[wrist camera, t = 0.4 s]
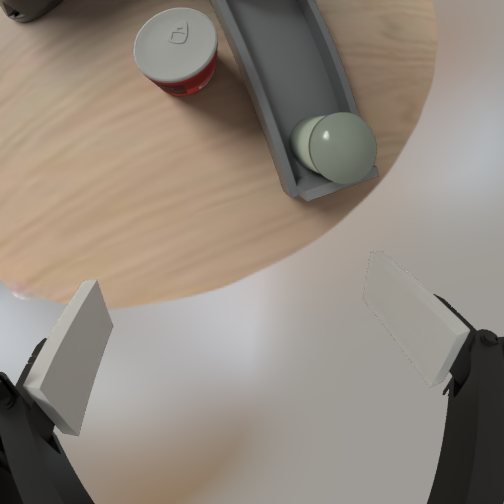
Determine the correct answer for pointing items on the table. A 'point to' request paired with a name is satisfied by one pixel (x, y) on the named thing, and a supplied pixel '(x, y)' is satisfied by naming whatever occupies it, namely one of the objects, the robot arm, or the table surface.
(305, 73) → the lane
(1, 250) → the table surface
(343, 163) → the green jar
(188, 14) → the canned food
